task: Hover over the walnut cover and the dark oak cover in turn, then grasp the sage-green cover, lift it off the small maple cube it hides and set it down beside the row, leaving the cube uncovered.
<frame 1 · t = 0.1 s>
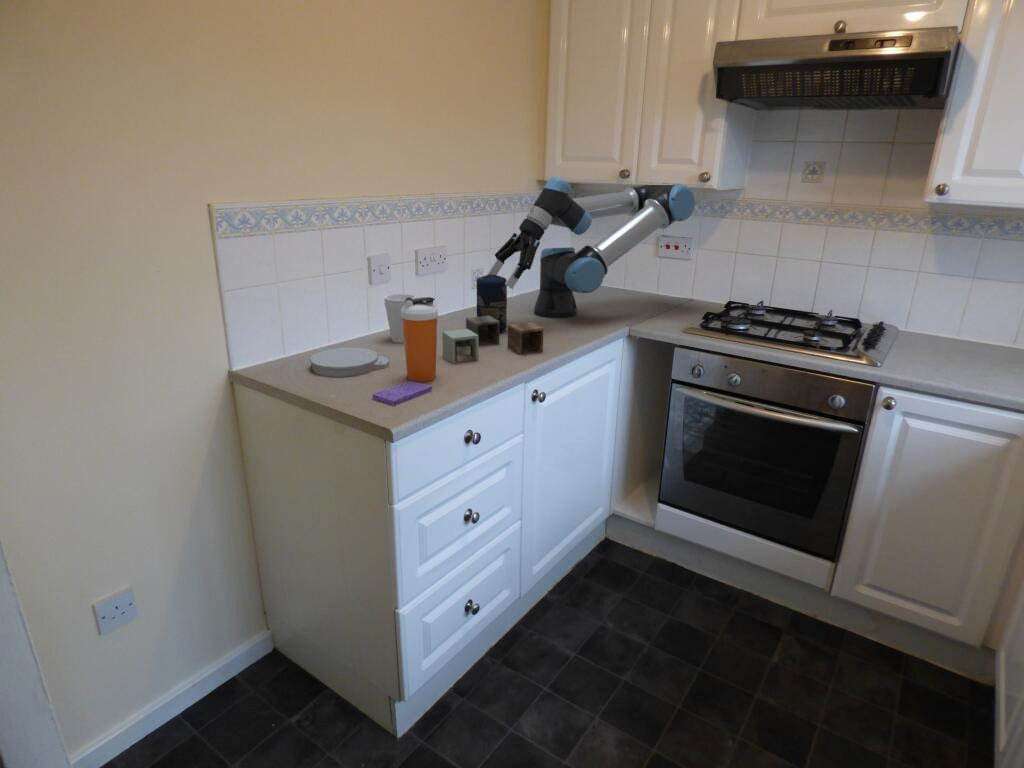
hand: (498, 282, 201), 15 cm above the counter, tool tilted 35°, fingers open, 13 cm apart
canister: (491, 331, 205), on the counter
maple cube: (460, 351, 177), in the cover green
foam cup: (402, 340, 194), on the counter
shaker bottle: (421, 378, 162), on the counter
cover walnut: (525, 349, 186), on the counter
sponges: (403, 397, 150), on the counter
cover green: (460, 358, 177), on the counter
lid: (350, 368, 169), on the counter
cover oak: (482, 342, 193), on the counter
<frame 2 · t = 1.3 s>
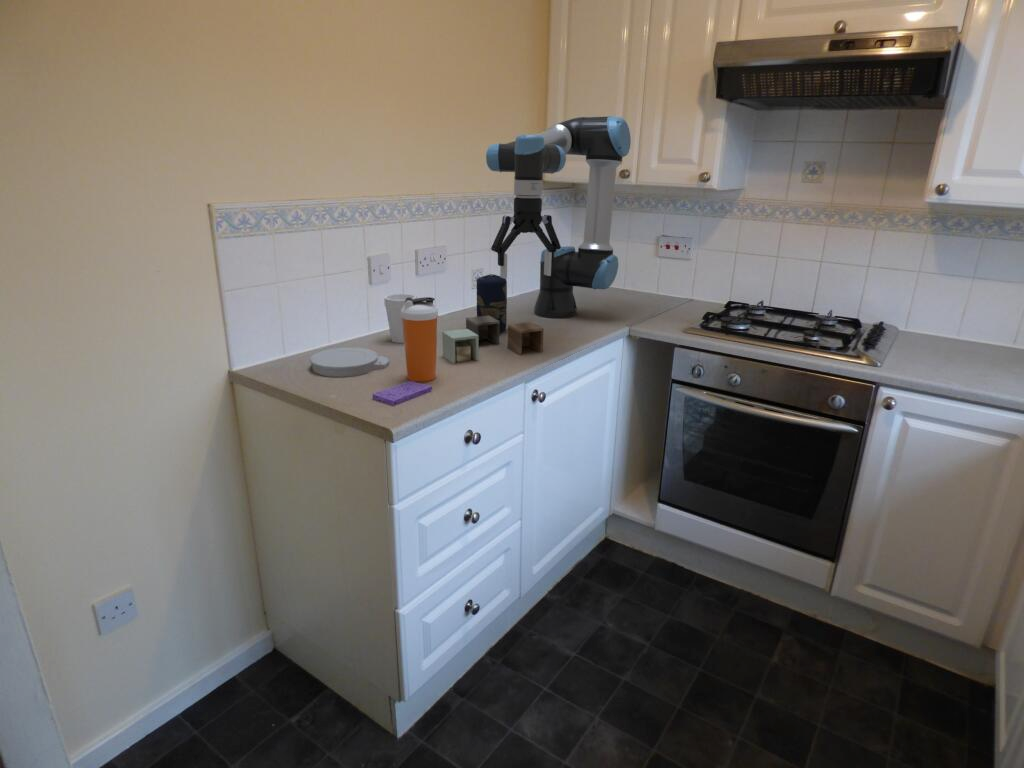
hand: (525, 276, 179), 21 cm above the counter, tool pointing down, fingers open, 13 cm apart
nothing on the counter moved.
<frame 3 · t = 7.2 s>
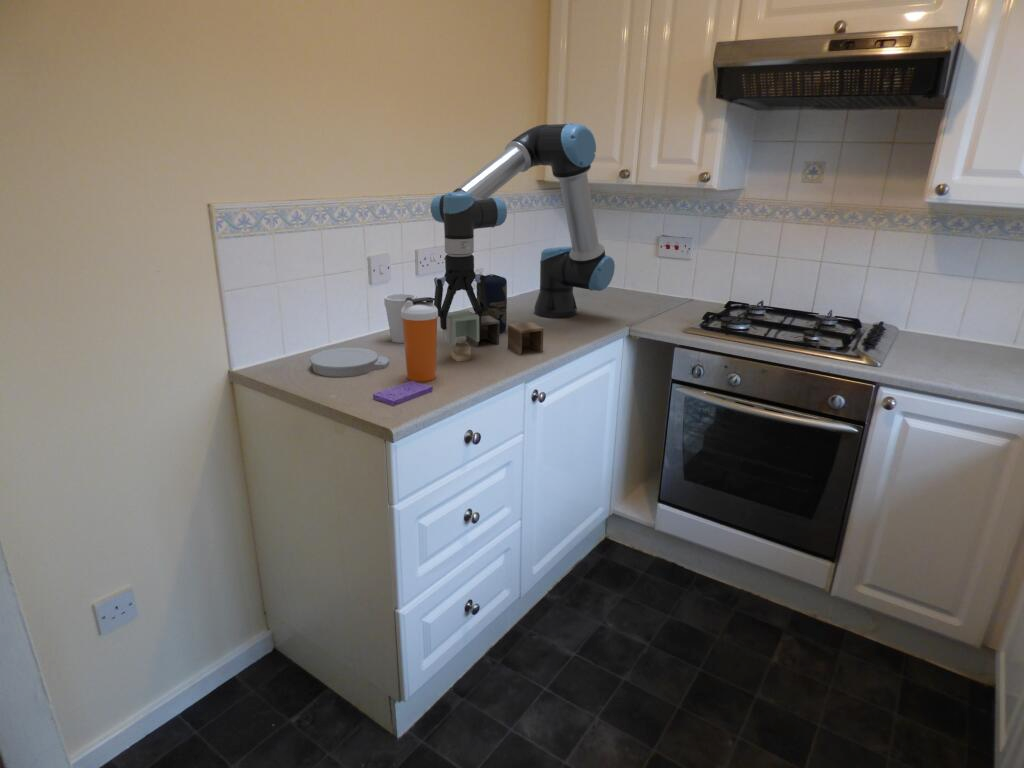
hand: (461, 338, 176), 5 cm above the counter, tool pointing down, fingers closed on cover green, 7 cm apart
cover green: (461, 339, 176), point 5 cm above the counter, touching gripper
everything else where it was.
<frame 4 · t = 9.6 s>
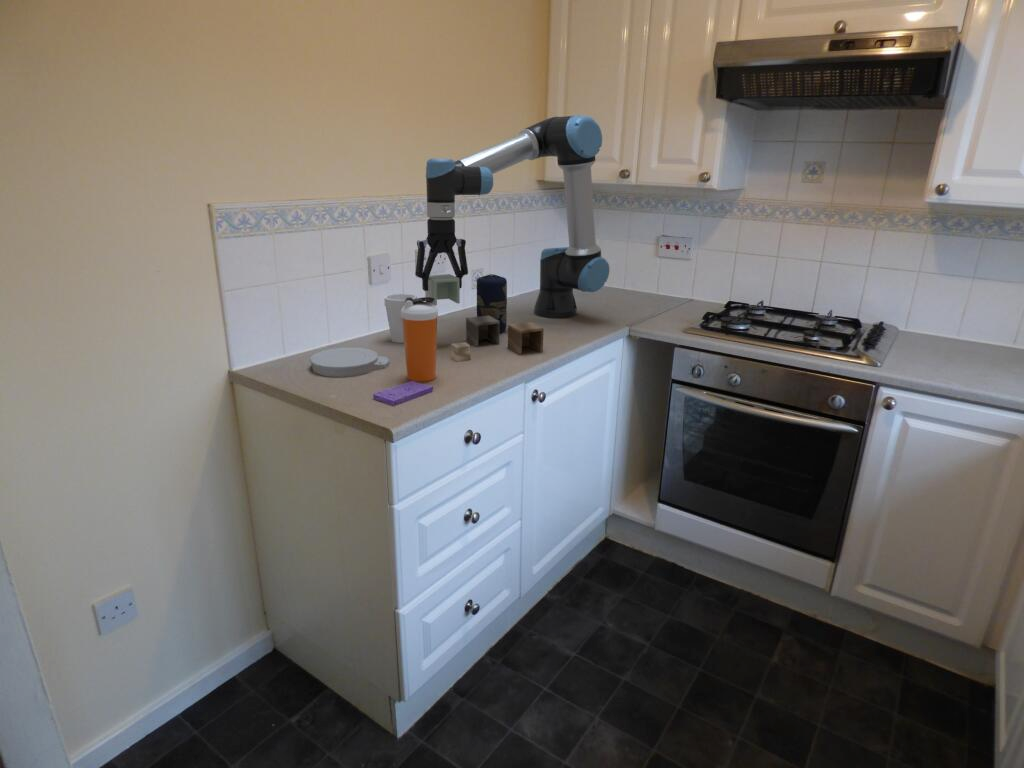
hand: (442, 300, 184), 13 cm above the counter, tool pointing down, fingers closed on cover green, 7 cm apart
cover green: (442, 301, 184), point 13 cm above the counter, touching gripper
everything else where it was.
when the fingers open (0 cm above the counter, at t = 12.2 s): cover green stays where it is, on the counter.
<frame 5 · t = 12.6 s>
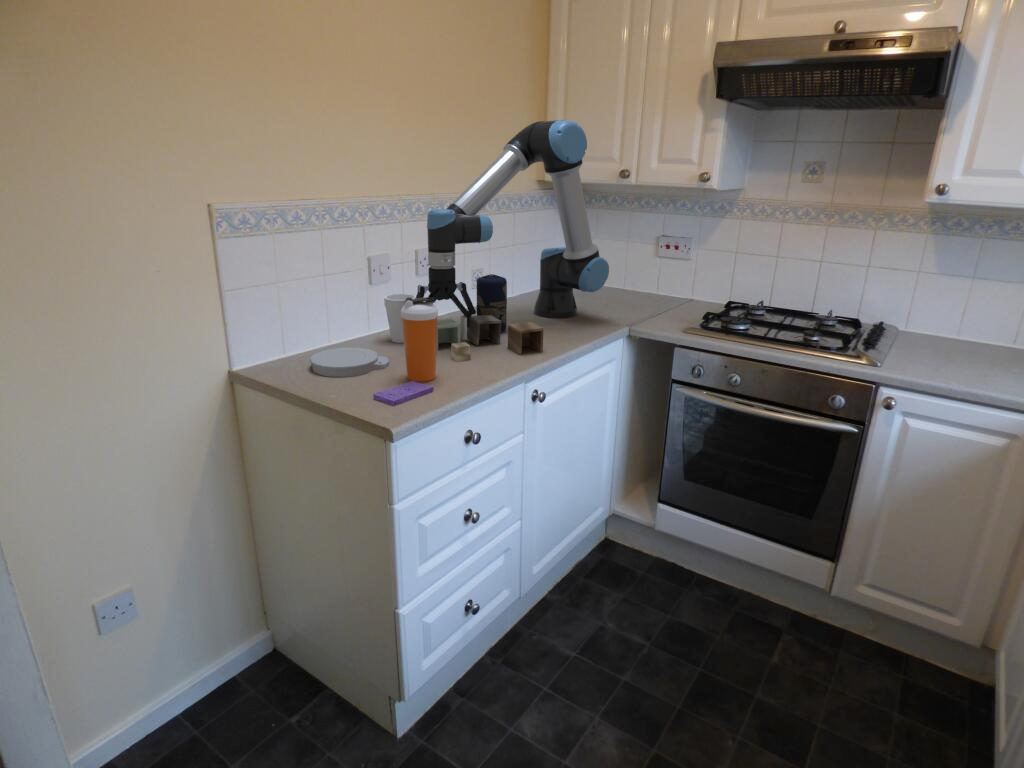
hand: (443, 340, 188), 2 cm above the counter, tool pointing down, fingers open, 12 cm apart
cover green: (443, 345, 188), on the counter
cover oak: (482, 341, 192), on the counter, touching gripper
everything else where it was.
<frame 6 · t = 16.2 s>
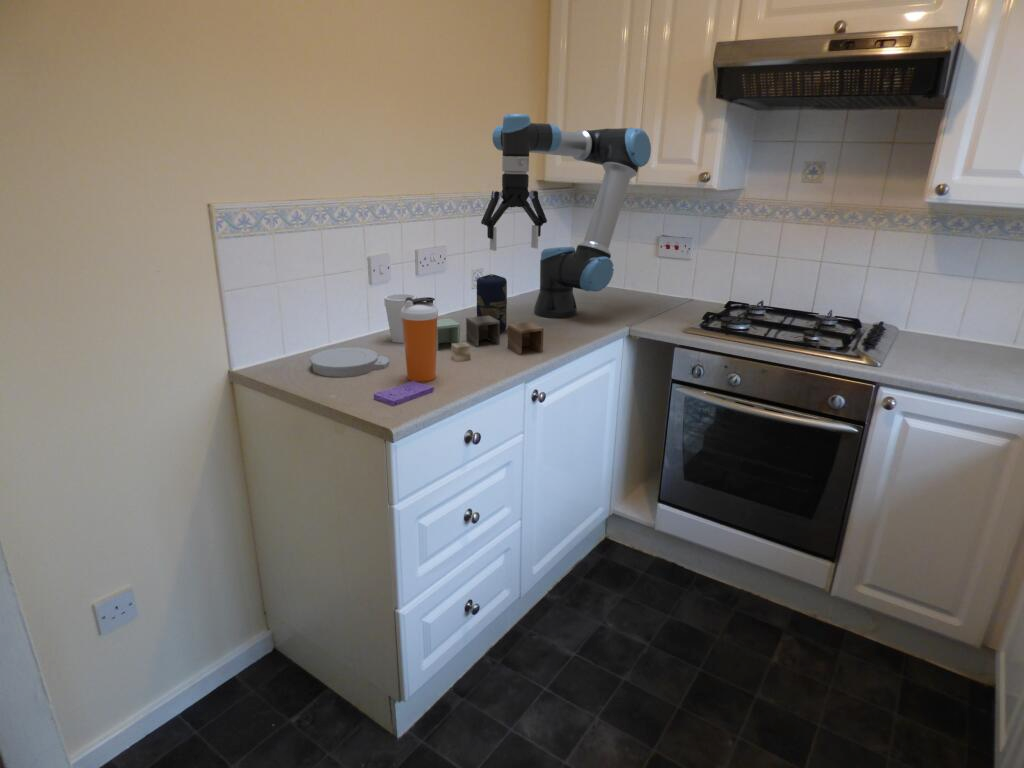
hand: (514, 249, 190), 27 cm above the counter, tool pointing down, fingers open, 13 cm apart
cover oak: (482, 342, 193), on the counter
everything else where it was.
at the end: cover green inside the target area (0.1 cm from its centre), on the counter; maple cube moved 0.1 cm from its start; cover green touching counter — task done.
